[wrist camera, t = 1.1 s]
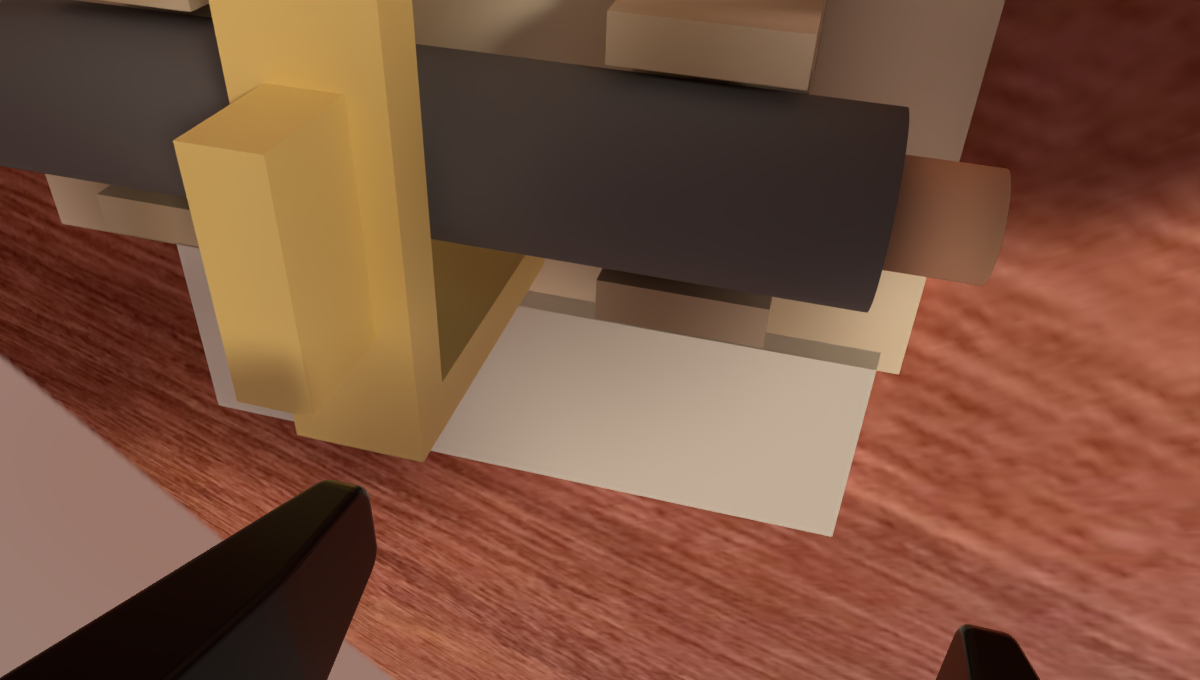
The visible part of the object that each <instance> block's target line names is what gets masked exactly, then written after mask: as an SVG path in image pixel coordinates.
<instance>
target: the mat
mask: <svg viewBox="0 0 1200 680" xmlns="http://www.w3.org/2000/svg"><path fill="white" fill-rule="evenodd" d="M178 244H179V243H178ZM176 245H177V244H176ZM177 248H178V252H179V256H180V260H181V264H182V267H183V271H184V275H185V279H186V283H187V286H188V290H189V294H190V298H191V302H192V306H193V309H194V313H195V317H196V321H197V325H198V328H199V332H200V336H201V340H202V344H203V347H204V351H205V355H206V359H207V363H208V366H209V370H210V374H211V378H212V382H213V386H214V389H215V393H216V397H217V401H218V405H219V406H224V407H229V408H233V409H238V410H243V411H247V412H252V413H257V414H261V415H266V416H271V417H275V418H280V419H285V420H289V421H294V418H293V413H288V412H284V411H279V410H274V409H269V408H265V407H260V406H255V405H251V404H246V403H241V402H237V399H236V395H235V391H234V387H233V383H232V379H231V375H230V370H229V366H228V362H227V358H226V354H225V350H224V346H223V342H222V338H221V334H220V330H219V326H218V322H217V318H216V314H215V310H214V306H213V302H212V297H211V293H210V289H209V285H208V281H207V277H206V273H205V269H204V265H203V261H202V257H201V253H200V249H199V248H197V247H196V248H195V246H193V247H190V245H189V246H188V245H187V246H186V245H185V246H183V245H181V244H179V245H177ZM528 292H529V291H528ZM528 292H527V293H528ZM530 292H531V291H530ZM530 292H529V293H530ZM533 292H534V291H532V293H533ZM527 293H526V294H527ZM529 293H528V295H526V296H524V297H525V298H526V297H527V296H528V298H529V300H530V299H531V300H532V299H533V300H534V302H536V301H535V300H536V298H535V299H534V298H533V296H534V294H532V293H530V294H532V295H533V296H532V295H531V297H532V298H530V297H529V295H530V294H529ZM538 293H539V292H538ZM535 295H536V296H535V297H538V298H539V299H537V301H539V300H541V299H540V297H539V296H540V293H539V296H537V292H535ZM542 295H544V294H543V293H542V294H541V296H542ZM545 295H548V294H545ZM550 295H551V294H549V296H550ZM555 296H556V295H555ZM543 297H544V298H543ZM543 297H542V299H543V300H544V299H548V301H549V302H548V303H550V300H549V299H550V298H548V296H546V297H547V298H545V296H543ZM556 297H557V296H556ZM559 297H560V299H562V300H563V305H564V306H565V304H566V306H565V308H566V309H567V306H568V305H567V303H566V302H567V301H570V299H572V298H569V299H568V297H567V299H568V300H567V299H565V298H564V297H563V298H562V297H561V296H559ZM559 297H558V298H559ZM525 298H523V300H524V299H525ZM528 298H527V299H528ZM554 298H555V297H554ZM527 299H526V300H527ZM551 299H552V300H553V301H555V300H554V299H553V295H552V297H551ZM560 299H559V300H556V301H560ZM523 300H522V301H523ZM526 300H525V302H526V303H527V304H528V303H530V302H528V301H529V300H528V301H526ZM565 300H567V301H565ZM572 300H573V299H572ZM572 300H571V301H572ZM522 301H521V304H522V306H518V308H517V310H516V311H515V313H514V315H513V316H512V318H511V319H510V321H509V323H508V324H507V326H506V328H505V329H504V331H503V333H502V334H501V336H500V338H499V339H498V341H497V342H496V344H495V346H494V347H493V349H492V351H491V352H490V354H489V356H488V357H487V359H486V360H485V362H484V364H483V365H482V367H481V369H480V370H479V372H478V374H477V375H476V377H475V379H474V380H473V382H472V383H471V385H470V387H469V388H468V390H467V392H466V393H465V395H464V397H463V398H462V400H461V402H460V403H459V405H458V406H457V408H456V410H455V411H454V413H453V415H452V416H451V418H450V420H449V421H448V423H447V425H446V426H445V428H444V429H443V431H442V433H441V434H440V436H439V438H438V439H437V441H436V443H435V444H434V446H433V447H432V449H431V451H434V452H439V453H443V454H448V455H453V456H457V457H462V458H467V459H471V460H476V461H481V462H485V463H490V464H495V465H499V466H504V467H509V468H513V469H518V470H523V471H527V472H532V473H537V474H541V475H546V476H551V477H555V478H560V479H565V480H569V481H574V482H579V483H583V484H588V485H593V486H597V487H602V488H607V489H611V490H616V491H621V492H625V493H630V494H635V495H639V496H644V497H649V498H653V499H658V500H663V501H667V502H672V503H677V504H681V505H686V506H691V507H695V508H700V509H705V510H709V511H714V512H719V513H723V514H728V515H733V516H737V517H742V518H747V519H751V520H756V521H761V522H765V523H770V524H775V525H779V526H784V527H789V528H793V529H798V530H803V531H807V532H812V533H817V534H821V535H826V536H831V537H832V535H833V532H834V528H835V524H836V520H837V517H838V513H839V509H840V505H841V502H842V498H843V494H844V490H845V486H846V483H847V479H848V475H849V471H850V468H851V464H852V460H853V456H854V453H855V449H856V445H857V441H858V437H859V434H860V430H861V426H862V422H863V419H864V415H865V411H866V407H867V403H868V400H869V396H870V392H871V388H872V385H873V381H874V377H875V373H876V370H875V368H874V367H877V365H878V364H877V363H878V362H877V360H879V359H877V360H876V362H877V363H876V364H875V365H876V366H875V365H874V366H872V364H873V363H871V362H872V361H874V360H875V359H874V358H873V357H876V358H880V357H877V356H878V355H877V354H881V353H880V352H876V353H877V354H876V353H875V356H873V355H872V354H871V355H872V356H873V357H871V359H869V358H868V357H869V356H871V355H869V356H867V361H868V359H869V362H868V364H871V366H872V368H871V369H869V368H870V367H869V368H868V369H866V368H865V366H866V367H868V366H869V365H867V364H866V362H865V363H864V362H863V360H865V357H862V355H861V356H860V355H859V356H860V357H861V358H862V359H863V360H861V358H860V357H859V356H858V355H857V354H856V353H855V352H858V351H859V353H860V352H861V349H859V350H856V348H855V350H853V349H854V348H852V352H853V351H854V354H856V355H857V356H856V357H855V356H854V355H853V358H854V357H855V358H856V360H858V362H857V361H856V360H855V358H854V359H853V358H851V357H852V355H851V354H852V353H849V352H847V351H846V352H847V353H848V354H849V355H851V356H850V357H849V356H847V357H846V355H848V354H847V353H845V349H847V347H845V346H844V347H845V348H844V347H843V346H841V347H839V346H840V345H837V347H835V346H836V345H832V344H831V345H832V346H833V347H834V348H835V349H836V348H840V349H839V351H840V350H841V352H842V349H841V348H842V347H843V348H844V350H843V352H844V353H845V354H846V355H844V354H843V352H842V353H841V352H840V353H839V354H841V355H840V356H841V357H842V355H843V357H845V358H846V359H847V358H848V357H849V358H850V359H851V360H850V359H847V360H848V361H849V363H847V362H848V361H847V360H846V359H844V360H845V361H846V363H847V364H848V365H847V364H846V365H844V364H845V361H844V364H842V363H841V362H843V358H842V359H841V357H840V356H839V357H838V358H837V357H836V356H835V355H836V354H837V356H838V353H837V352H838V350H837V349H836V350H835V349H834V350H833V349H832V350H833V351H834V352H835V351H836V352H835V353H836V354H835V353H834V354H835V355H834V356H835V357H833V353H832V352H833V351H829V352H830V353H829V352H828V353H829V354H830V356H832V358H833V359H834V360H835V361H836V359H837V360H838V359H840V360H839V362H840V361H841V360H842V361H841V362H840V363H841V364H840V363H839V364H838V361H837V363H835V361H834V360H833V359H832V358H831V357H830V356H829V354H828V353H827V351H828V350H825V349H827V348H826V346H828V347H829V346H830V347H831V345H830V344H829V343H826V346H824V345H823V343H822V342H820V343H822V345H823V348H822V346H821V350H822V349H824V348H825V349H824V350H825V352H826V354H828V358H830V360H831V361H833V362H834V363H833V362H831V361H830V362H829V361H828V360H829V359H828V360H827V359H826V360H827V361H826V360H825V361H824V360H822V359H823V358H824V359H825V358H827V356H826V354H825V353H823V354H825V355H824V356H825V357H823V356H822V358H820V356H821V355H823V354H821V353H822V352H823V351H821V350H820V351H821V352H819V349H820V348H819V347H820V345H819V344H820V343H819V342H818V343H817V341H815V345H816V346H814V343H812V341H811V343H812V345H813V346H814V347H816V348H813V346H812V345H811V344H809V343H810V342H809V341H808V340H806V341H807V342H808V343H807V342H806V341H805V340H804V339H801V341H802V340H804V341H802V342H803V343H802V342H801V343H802V344H803V346H804V344H806V343H807V344H809V345H810V348H809V345H805V348H806V349H808V350H809V349H811V353H813V351H812V350H813V349H814V350H816V353H818V352H819V353H820V355H819V353H818V354H816V353H815V354H814V353H813V355H814V356H813V355H812V354H810V355H809V357H810V356H811V355H812V356H813V357H812V356H811V357H812V358H811V359H810V358H808V357H807V356H808V354H805V352H806V349H803V350H804V354H805V355H804V356H805V357H804V356H803V357H802V356H801V355H803V354H802V353H801V352H803V350H802V348H804V347H802V346H801V344H800V343H799V342H798V341H800V340H798V339H799V338H798V339H797V340H798V341H797V340H796V342H797V343H796V342H795V341H794V342H795V343H796V344H795V345H797V346H796V348H793V347H794V346H795V345H794V344H793V341H792V340H793V337H791V339H789V337H787V336H783V335H782V336H783V337H782V341H783V342H782V341H781V340H780V341H781V342H782V343H783V344H781V343H780V341H779V342H778V343H777V344H779V345H780V346H782V345H784V346H785V347H786V346H787V345H788V344H787V343H786V342H784V341H785V340H784V339H783V338H784V337H787V338H788V339H789V340H788V341H792V342H788V341H787V340H786V341H787V342H788V343H789V344H790V345H791V343H792V344H793V345H794V346H793V347H792V346H791V347H789V346H788V347H789V348H790V349H791V350H790V349H788V347H786V348H787V349H786V350H785V347H783V346H782V347H783V348H784V349H783V348H782V347H780V346H779V347H780V349H781V350H782V349H783V350H785V351H786V352H787V351H788V350H790V351H792V350H793V349H794V351H793V353H792V352H790V351H788V352H787V354H786V352H785V351H783V350H782V352H784V353H783V354H782V353H780V352H781V351H780V352H779V353H778V352H775V351H776V349H777V350H778V351H779V347H778V346H776V347H775V346H774V347H773V344H774V345H776V344H775V343H773V341H774V340H775V339H776V337H775V339H773V337H774V336H775V335H776V336H777V339H776V342H777V341H778V340H779V337H781V335H778V334H774V336H772V333H768V334H769V336H770V337H769V336H766V335H767V333H766V335H765V336H766V338H768V337H769V338H768V339H770V338H772V339H770V340H772V342H771V345H768V346H769V347H770V346H772V347H773V348H774V349H775V348H776V349H775V350H773V352H772V350H771V349H769V347H768V346H767V344H768V343H767V341H768V342H769V343H770V340H768V339H766V341H765V340H764V341H765V342H764V345H766V347H767V348H768V349H769V350H767V349H765V348H766V347H765V348H764V349H765V350H764V349H763V348H758V347H757V348H753V347H751V346H750V347H751V348H750V347H749V346H747V347H745V346H744V345H743V346H742V345H741V346H738V345H740V344H736V343H732V344H733V345H732V344H730V343H729V342H727V343H726V342H725V341H724V342H725V343H724V342H721V341H719V340H718V341H717V340H716V341H717V342H716V341H715V340H713V339H708V338H707V340H705V339H706V338H705V339H700V338H699V337H697V336H696V337H695V338H694V337H692V336H689V335H688V336H684V334H683V335H682V334H680V333H679V334H680V335H677V334H678V333H677V334H675V333H674V332H673V333H674V334H673V333H670V332H669V331H667V332H665V331H664V330H661V331H660V330H659V331H657V330H658V329H657V330H656V329H652V330H649V329H650V328H647V327H645V328H643V327H642V328H641V327H636V326H635V325H633V326H632V325H631V326H630V325H629V324H627V325H628V326H627V325H621V324H619V323H618V322H617V324H616V323H615V322H612V323H610V322H611V321H608V320H607V322H606V321H605V320H603V321H601V320H602V319H601V320H600V319H596V318H595V317H594V318H595V319H596V320H595V319H593V316H595V315H594V313H595V312H594V313H593V311H594V310H593V309H592V308H594V307H595V305H594V304H595V302H594V303H593V304H591V306H592V307H591V306H590V303H588V302H587V301H586V302H587V304H589V306H590V307H588V306H587V304H585V303H586V302H585V303H583V302H584V300H582V301H583V302H582V303H581V304H583V307H585V306H587V307H588V308H587V307H585V308H584V310H585V309H586V308H587V309H586V311H584V312H585V313H584V312H583V310H582V311H581V309H580V308H582V307H581V306H582V305H580V302H581V301H579V299H578V302H579V303H578V302H577V299H575V302H577V303H578V304H579V305H578V304H577V303H575V302H574V303H575V304H573V303H572V302H571V301H570V302H571V304H573V305H572V306H574V305H575V306H576V305H578V307H579V306H580V308H579V309H580V311H579V309H578V308H576V307H575V306H574V307H575V308H576V309H577V311H578V313H581V312H583V313H584V315H585V314H586V316H587V317H586V316H584V317H585V318H584V317H583V315H581V314H579V315H580V316H581V317H580V316H579V315H578V313H577V312H576V313H577V315H578V316H579V317H578V316H576V313H573V314H574V315H575V316H574V315H573V316H571V315H572V313H571V312H572V311H573V310H575V309H572V308H571V309H572V310H570V311H571V312H569V309H570V307H572V306H571V305H570V304H569V303H570V302H569V303H568V304H569V305H570V307H569V306H568V309H567V310H568V313H567V314H568V315H566V313H565V312H566V309H565V312H564V310H563V309H564V308H563V307H562V306H561V304H562V303H561V304H560V306H561V307H562V308H563V309H562V308H560V306H558V305H557V304H559V303H560V302H562V301H560V302H558V303H556V301H555V302H554V304H553V305H554V306H555V307H556V309H558V311H559V310H561V311H562V312H563V313H564V314H563V313H561V312H560V313H561V314H560V313H558V311H557V310H556V309H555V308H554V307H553V305H551V306H552V307H550V306H549V305H550V304H551V303H552V302H551V303H550V304H548V307H547V305H545V303H546V300H545V303H543V301H540V302H539V303H540V305H541V306H542V307H543V306H545V307H546V308H548V309H549V308H550V309H551V312H550V309H549V311H545V310H543V308H544V309H546V308H545V307H543V308H542V307H541V306H540V305H539V304H538V303H537V302H536V304H538V305H536V304H535V303H534V302H533V301H532V302H533V304H534V305H535V306H537V307H538V306H539V307H540V308H539V307H538V309H539V310H538V309H537V308H536V307H535V306H534V305H533V304H531V303H532V302H531V303H530V304H531V305H532V306H533V307H532V308H531V307H530V306H531V305H530V304H528V305H527V306H528V307H527V306H526V307H524V305H526V304H525V303H524V301H523V303H524V304H523V303H522ZM573 301H574V300H573ZM541 302H542V303H543V304H544V305H542V303H541ZM589 302H591V301H589ZM564 303H565V304H564ZM591 303H592V302H591ZM546 304H547V303H546ZM584 304H585V305H584ZM557 306H558V307H559V308H557ZM593 306H594V307H593ZM574 307H573V308H574ZM533 308H534V309H533ZM535 308H536V309H535ZM541 308H542V310H540V309H541ZM552 308H554V310H555V311H556V312H557V313H556V312H555V311H554V312H553V311H552V310H553V309H552ZM590 308H591V309H592V310H593V311H592V310H591V309H590ZM548 309H547V310H548ZM582 309H583V308H582ZM588 309H590V310H591V311H592V314H593V316H592V315H588V314H590V313H591V312H590V311H589V310H588ZM587 311H589V312H590V313H589V312H588V314H587V313H586V312H587ZM573 312H574V311H573ZM583 313H582V314H583ZM569 314H571V315H569ZM588 316H589V318H590V319H589V318H588ZM591 318H592V319H591ZM599 320H600V321H599ZM622 324H623V323H622ZM624 324H625V323H624ZM655 330H656V331H655ZM663 331H664V332H663ZM668 332H669V333H668ZM685 335H686V334H685ZM701 338H702V337H701ZM787 338H786V339H787ZM794 339H796V338H795V337H794ZM805 342H806V343H805ZM728 343H729V344H728ZM766 343H767V344H766ZM772 343H773V344H772ZM785 343H786V344H787V345H786V344H785ZM798 343H799V344H798ZM816 343H817V344H818V347H817V344H816ZM824 344H825V343H824ZM828 344H829V345H828ZM764 345H763V347H764ZM799 345H800V346H799ZM806 346H808V348H807V347H806ZM811 346H812V347H811ZM798 347H800V348H801V347H802V348H801V349H800V350H802V351H800V350H799V348H798ZM773 348H772V349H773ZM792 348H793V349H792ZM817 348H819V349H818V350H817ZM831 348H832V347H831ZM831 348H830V349H829V348H828V349H829V350H831ZM761 349H762V350H761ZM796 349H797V351H796V352H797V353H795V350H796ZM766 350H767V351H766ZM808 350H807V352H808ZM862 350H863V349H862ZM848 351H850V349H848ZM863 351H864V352H863ZM863 351H862V352H861V354H863V355H864V354H866V352H867V351H868V350H863ZM798 352H799V353H801V354H798ZM809 352H810V351H809ZM871 352H873V351H871ZM789 353H790V354H789ZM791 353H792V354H795V355H796V356H794V355H792V354H791ZM831 353H832V354H831ZM869 353H870V351H869ZM869 353H867V355H868V354H869ZM873 353H874V352H873ZM788 354H789V355H788ZM797 354H798V355H800V357H799V356H797ZM815 355H816V357H817V358H816V357H815ZM817 355H818V356H819V357H818V356H817ZM876 355H877V356H876ZM864 356H865V355H864ZM806 357H807V358H806ZM814 357H815V358H816V359H815V358H814ZM858 357H859V359H860V360H859V359H857V358H858ZM818 358H819V360H818ZM835 358H836V359H835ZM820 359H821V360H822V361H821V360H820ZM852 360H854V361H855V362H854V361H852ZM871 360H872V361H871ZM850 361H852V362H853V363H852V362H851V365H852V366H851V365H849V364H850ZM860 361H861V363H862V362H863V363H864V364H866V365H865V366H864V367H863V365H862V364H861V365H862V366H861V365H859V364H860V363H859V362H860ZM865 361H866V360H865ZM854 363H856V364H857V363H859V364H857V366H856V364H855V366H856V367H855V366H853V364H854ZM874 363H875V361H874ZM858 365H859V366H861V367H863V368H861V367H858ZM872 369H874V370H872Z"/></svg>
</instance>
